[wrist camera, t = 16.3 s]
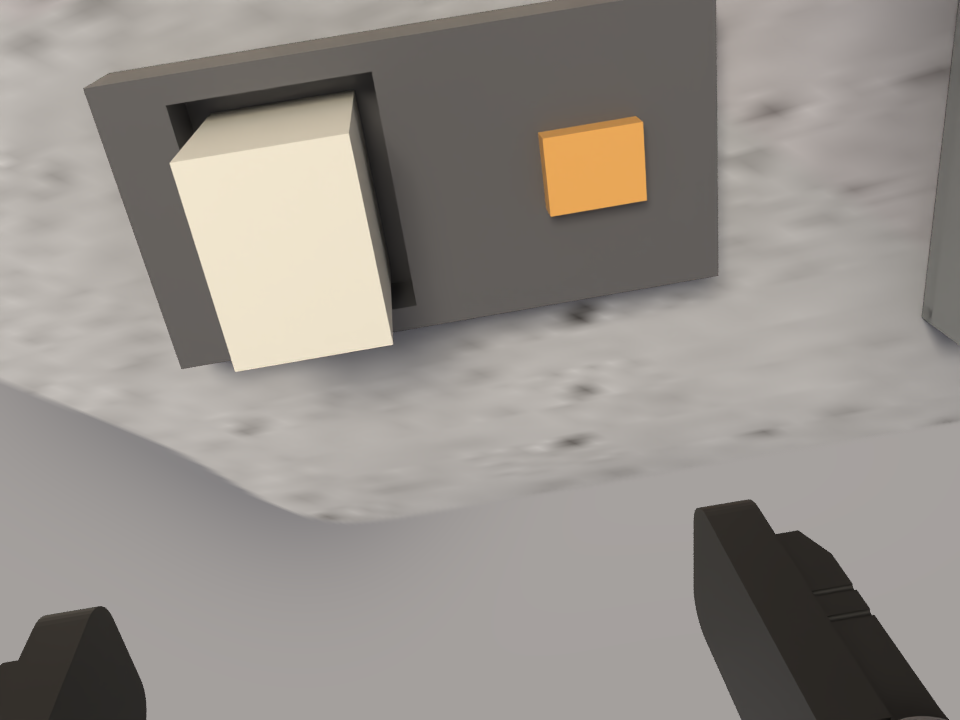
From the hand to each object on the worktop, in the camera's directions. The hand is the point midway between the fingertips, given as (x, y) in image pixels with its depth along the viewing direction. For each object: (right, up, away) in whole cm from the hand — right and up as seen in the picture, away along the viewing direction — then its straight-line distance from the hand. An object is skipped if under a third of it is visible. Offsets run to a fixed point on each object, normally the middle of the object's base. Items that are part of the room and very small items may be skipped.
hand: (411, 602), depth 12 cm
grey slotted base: (-1, +10, +17) cm, 19 cm away
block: (-5, +9, +16) cm, 19 cm away
